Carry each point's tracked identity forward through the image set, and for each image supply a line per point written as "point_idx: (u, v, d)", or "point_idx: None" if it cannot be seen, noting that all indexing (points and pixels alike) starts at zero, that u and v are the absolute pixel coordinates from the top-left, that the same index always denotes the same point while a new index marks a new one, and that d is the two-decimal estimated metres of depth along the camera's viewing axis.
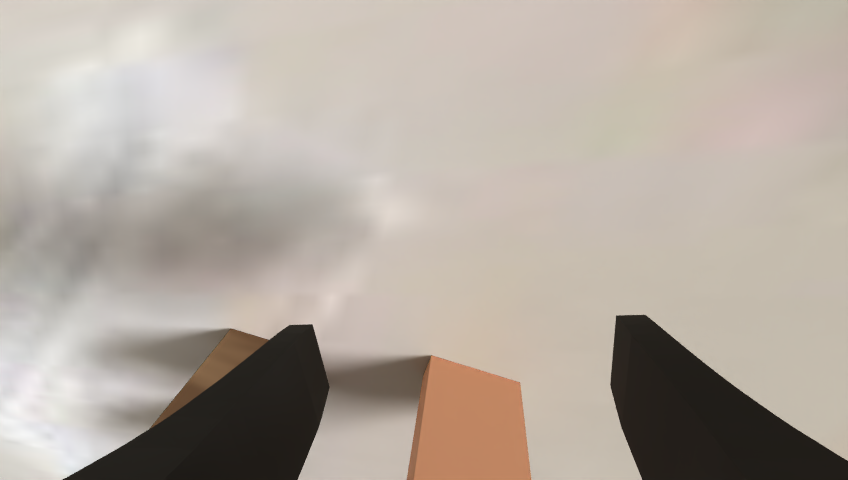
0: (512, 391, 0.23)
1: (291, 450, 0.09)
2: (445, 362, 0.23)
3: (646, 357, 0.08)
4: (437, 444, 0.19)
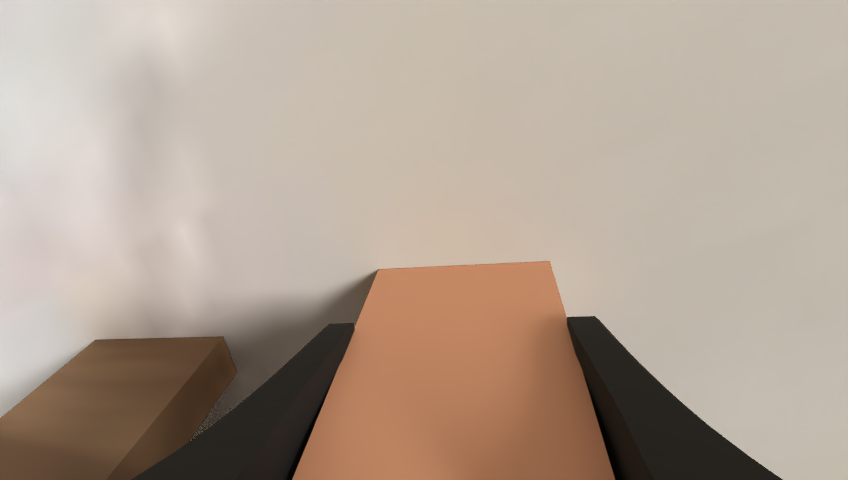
0: (535, 277, 0.12)
1: None
2: (403, 271, 0.13)
3: (586, 358, 0.08)
4: (362, 405, 0.08)
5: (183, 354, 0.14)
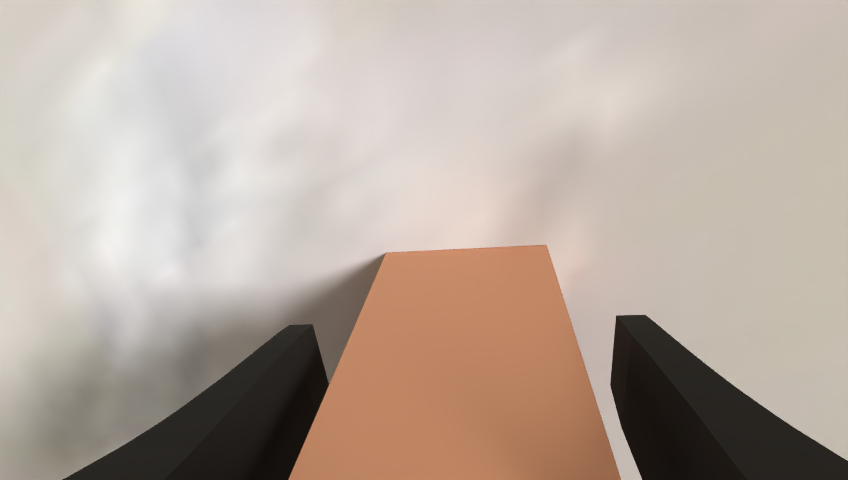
0: (532, 258, 0.13)
1: (291, 450, 0.09)
2: (409, 254, 0.14)
3: (646, 357, 0.08)
4: (374, 363, 0.09)
5: None
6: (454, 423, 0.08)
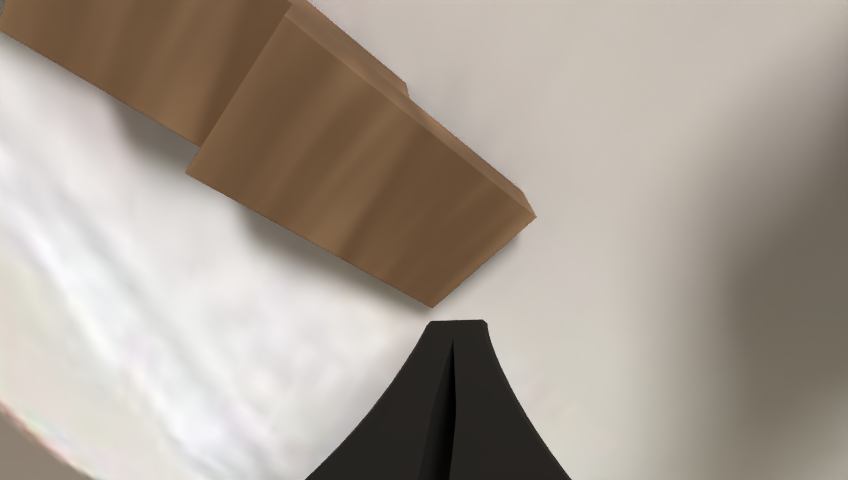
0: None
1: None
2: None
3: None
4: None
5: None
6: None
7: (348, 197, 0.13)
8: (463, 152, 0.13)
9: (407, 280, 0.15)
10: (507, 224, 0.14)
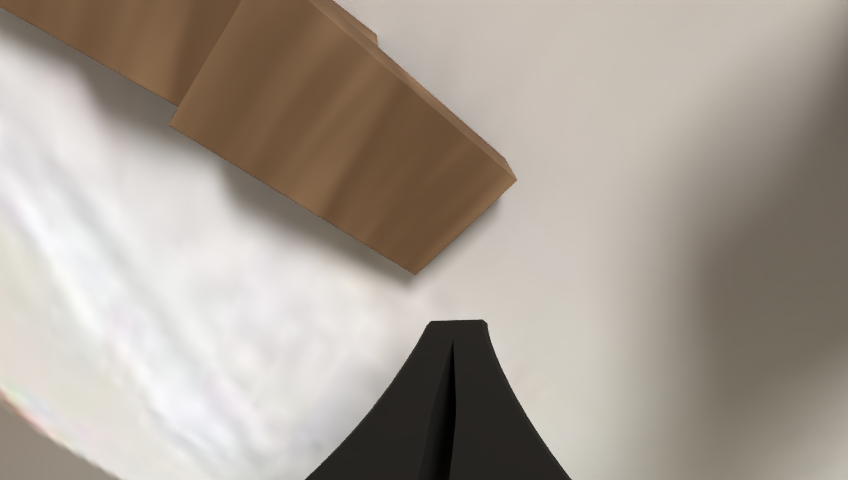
0: None
1: None
2: None
3: None
4: None
5: None
6: None
7: (330, 154, 0.13)
8: (444, 112, 0.13)
9: (390, 244, 0.15)
10: (488, 187, 0.14)
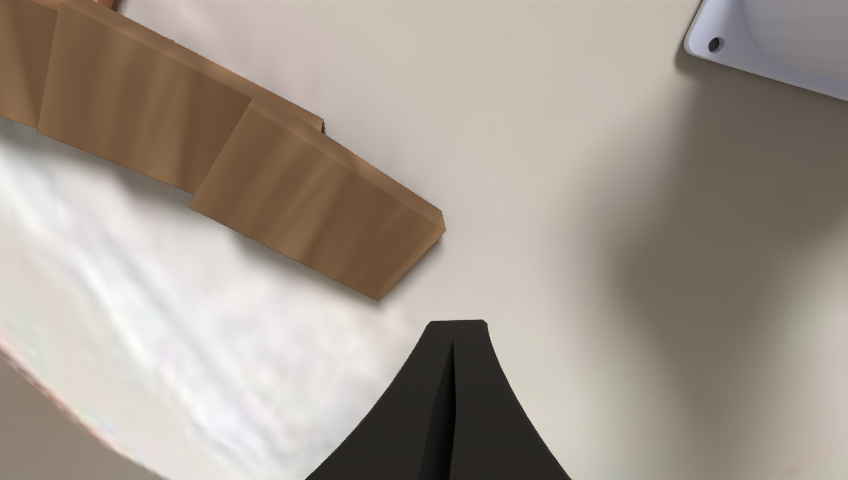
0: None
1: None
2: None
3: None
4: None
5: None
6: None
7: (304, 220, 0.18)
8: (386, 185, 0.18)
9: (355, 280, 0.20)
10: (425, 236, 0.19)
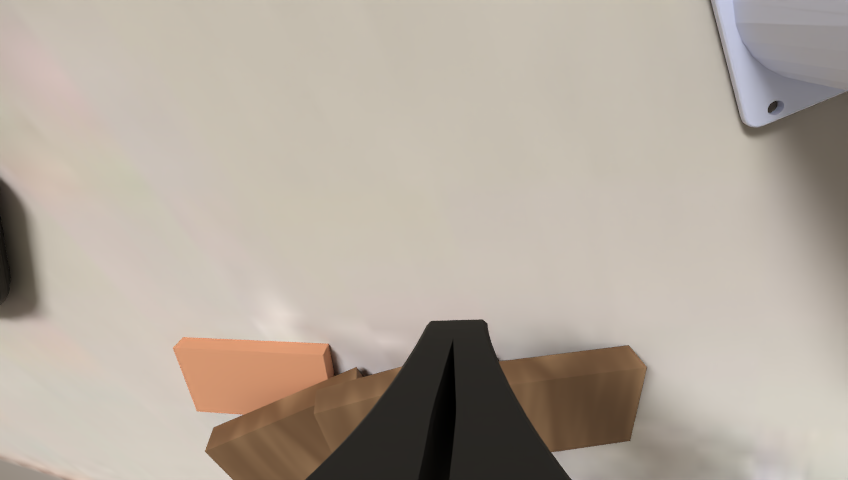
0: None
1: None
2: None
3: None
4: None
5: None
6: None
7: (537, 426, 0.22)
8: (577, 366, 0.21)
9: (601, 438, 0.23)
10: (633, 380, 0.21)
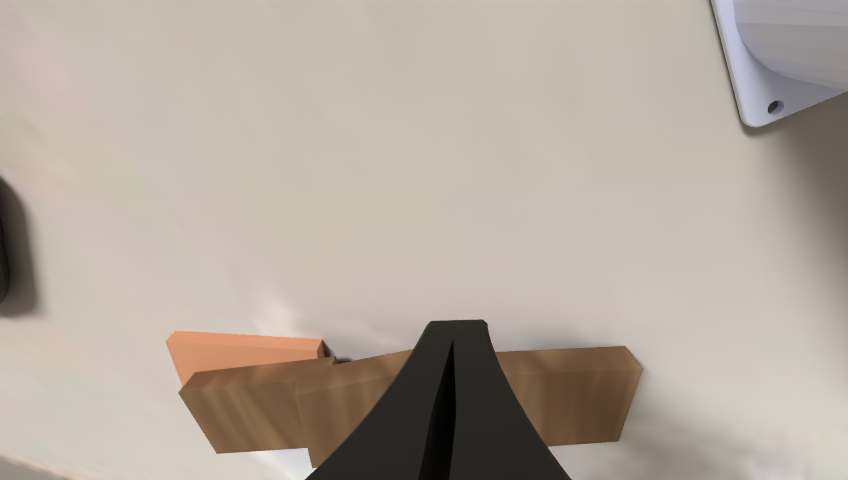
0: None
1: None
2: None
3: None
4: None
5: None
6: None
7: None
8: (574, 363, 0.21)
9: (590, 436, 0.23)
10: (627, 381, 0.21)
